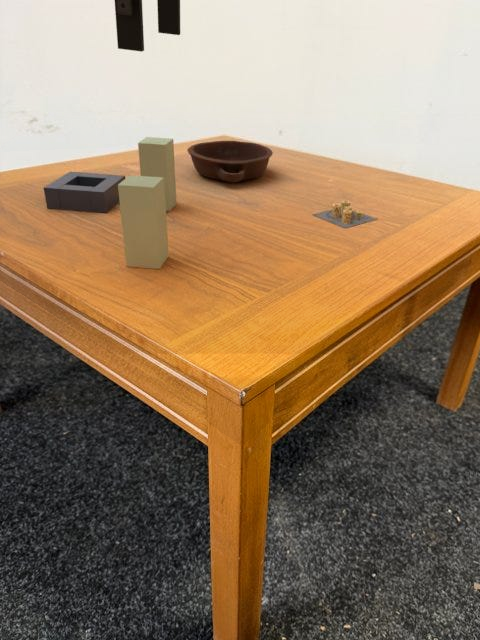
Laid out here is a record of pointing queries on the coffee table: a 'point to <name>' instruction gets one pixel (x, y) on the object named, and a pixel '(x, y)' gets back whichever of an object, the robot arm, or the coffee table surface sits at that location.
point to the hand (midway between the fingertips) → (151, 41)
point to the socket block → (84, 192)
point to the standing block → (159, 164)
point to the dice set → (344, 215)
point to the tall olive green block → (144, 221)
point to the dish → (230, 159)
